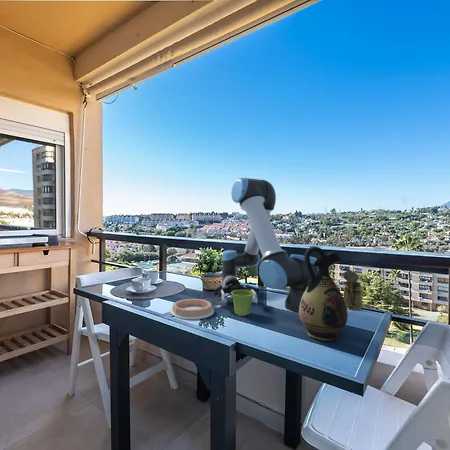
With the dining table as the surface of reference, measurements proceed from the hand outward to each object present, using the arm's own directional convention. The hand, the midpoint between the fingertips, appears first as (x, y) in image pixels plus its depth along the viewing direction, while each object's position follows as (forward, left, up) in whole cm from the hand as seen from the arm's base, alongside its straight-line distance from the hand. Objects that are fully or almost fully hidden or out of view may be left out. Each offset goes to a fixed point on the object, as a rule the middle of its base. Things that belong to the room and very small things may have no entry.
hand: (239, 296), depth 122 cm
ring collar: (+15, +13, -6) cm, 21 cm away
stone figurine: (-39, -31, -6) cm, 50 cm away
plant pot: (-3, +3, -6) cm, 7 cm away
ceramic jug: (-35, +7, -6) cm, 36 cm away
